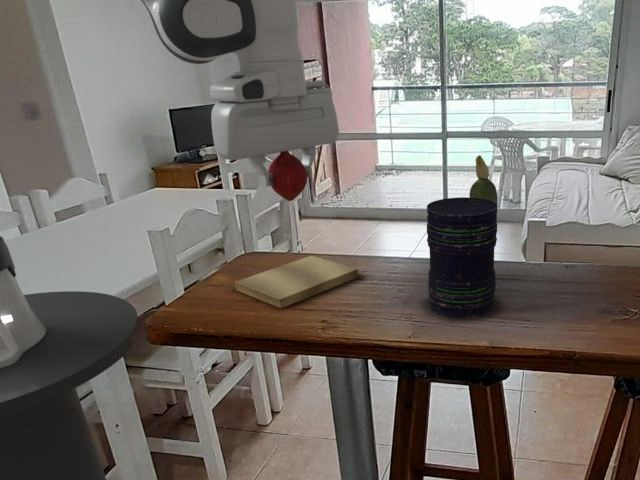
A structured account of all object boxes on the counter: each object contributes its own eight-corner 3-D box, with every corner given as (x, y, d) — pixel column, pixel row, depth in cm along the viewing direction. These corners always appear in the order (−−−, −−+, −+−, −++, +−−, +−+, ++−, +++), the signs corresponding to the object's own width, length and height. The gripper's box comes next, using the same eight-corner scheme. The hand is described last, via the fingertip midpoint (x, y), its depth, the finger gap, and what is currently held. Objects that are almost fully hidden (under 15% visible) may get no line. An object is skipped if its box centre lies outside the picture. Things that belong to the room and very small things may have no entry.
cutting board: (281, 308, 86) (279, 299, 85) (236, 290, 93) (234, 281, 92) (358, 277, 97) (357, 268, 96) (312, 263, 104) (311, 255, 103)
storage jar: (490, 322, 79) (492, 216, 73) (421, 316, 81) (418, 213, 75) (499, 294, 88) (501, 198, 82) (436, 290, 90) (434, 196, 84)
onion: (317, 200, 88) (311, 146, 85) (285, 207, 85) (277, 152, 81) (296, 194, 92) (290, 143, 89) (264, 201, 88) (256, 148, 85)
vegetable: (485, 271, 97) (487, 150, 89) (501, 278, 94) (505, 154, 85) (463, 276, 95) (464, 153, 87) (479, 284, 92) (481, 157, 83)
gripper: (316, 79, 90) (325, 168, 96) (198, 88, 76) (216, 191, 82) (343, 79, 87) (351, 172, 92) (224, 88, 73) (241, 197, 78)
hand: (286, 181), depth 87 cm, fingers closed on onion, 6 cm apart
